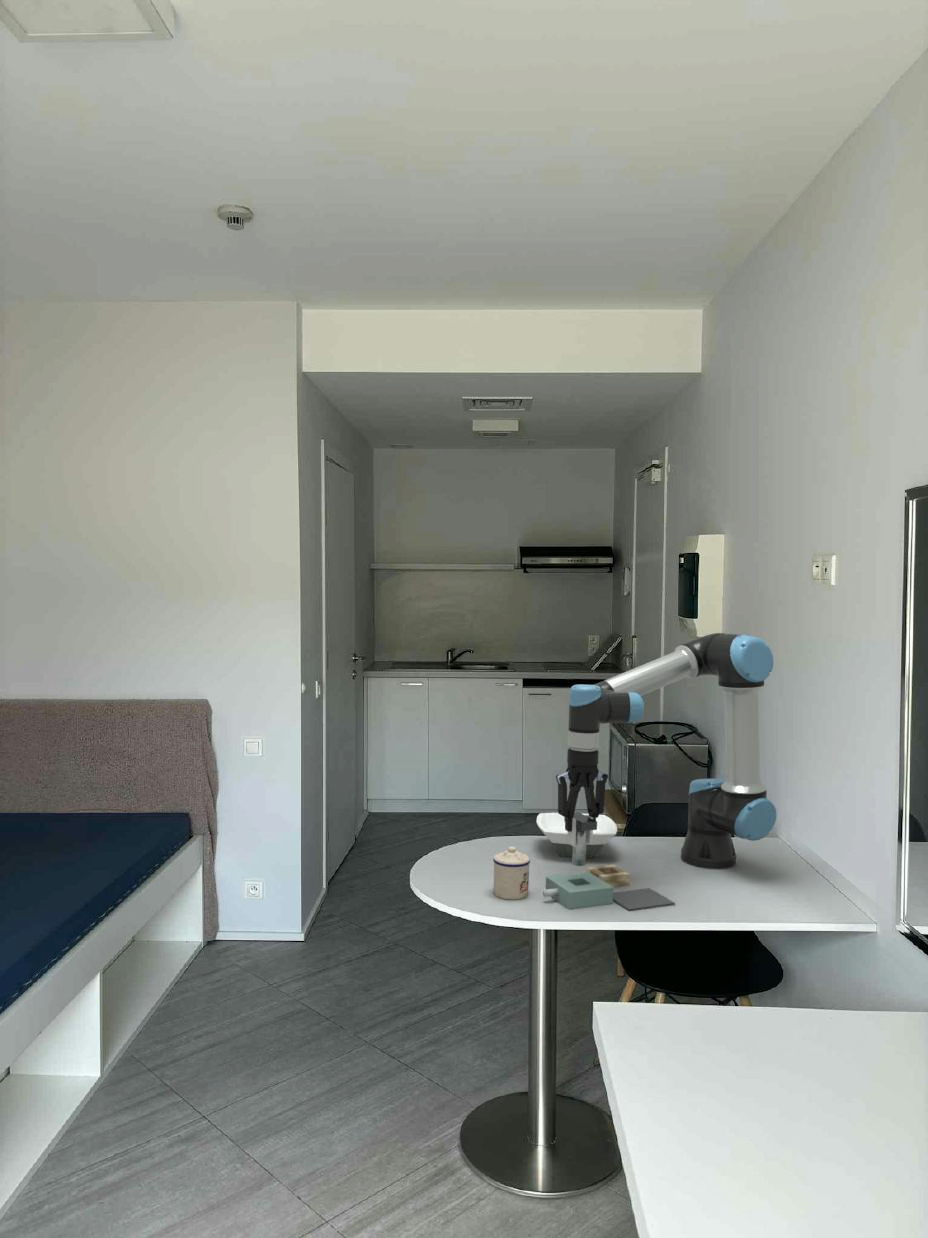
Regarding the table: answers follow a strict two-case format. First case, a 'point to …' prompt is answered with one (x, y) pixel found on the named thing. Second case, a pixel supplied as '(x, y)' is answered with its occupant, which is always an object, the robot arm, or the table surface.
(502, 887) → the teacup with lid
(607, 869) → the beige square frame
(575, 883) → the block
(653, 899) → the mat
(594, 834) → the bowl
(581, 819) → the block
